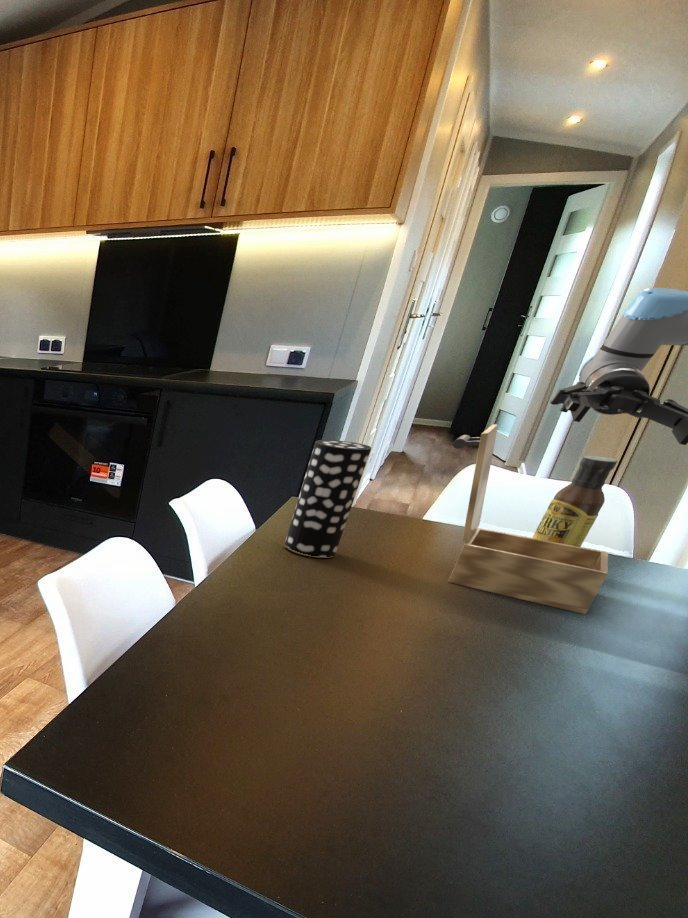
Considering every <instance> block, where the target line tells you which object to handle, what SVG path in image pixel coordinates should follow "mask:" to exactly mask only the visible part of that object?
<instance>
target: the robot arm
mask: <svg viewBox="0 0 688 918" xmlns="http://www.w3.org/2000/svg"><path fill="white" fill-rule="evenodd" d="M662 346H685V347H686V346H687V347H688V291H687V290H682V289H676V288H669V287H668V288H667V287H666V288H665V287H648V288H645V289H642V290H641V291H639V292H638V294H637V295H636V296H635V297H634V299H633V300H632V301H631V302H630V303H629V305H628V306H627V307H626V309H624V310H623V312H622V315H621V316H620V318H619V320H618V321H617V323H616V324H615V326H614V327H613V328H612V330H611V331H610V333H609V335H608V336H607V338H606V339H605V341H604V342H603V344H602V345H601V347H599V349H598V350H597V352H596V353H595V355H593V356H591V357H589V358H588V359H586V361H585V362H584V363H583V365H581V368H580V370H579V374H578V381H577V382H576V383H575V384H573V385H570V386H566V387H563V388H559V389H558V390H557V391H556V393H555V394H554V395H553V397H552V398H551V400H550V401H549V404H550V405H553V406H554V405H556V406H557V405H561V404H562V406H561V407H560V408H559V411H560V412H561V413H568V412H569V411H570V414H571V417H572V420H573V422H575V423H576V422H577V423H580V422H581V421H582V420H583V418H584V417H585V416H586V415H587V413H588V412H589V411H590V409H592V410H593V411H594V412H596V413H598V414H602V415H606V416H614V415H622V414H627V415H629V416H632V417H635V418H637V419H648V420H650V421H653V422H655V423H658V424H660V425H662V426H665V427H668V428H669V429H671V433H672V435H673V436H674V438H675V439H676V442H677V443H678V444H679V445H684V446H687V444H688V408H687V407H685V406H683V405H681V404H679V403H678V402H677V400H674V399H671V398H668V399H665V400H664V401H663V402H661V400H660V399H659V398H656V397H654V396H652V395H650V393H651V386H650V383H649V382H648V380H647V379H646V377H645V375H644V374H643V372H642V371H643V370H644V369H645V367H646V365H647V364H648V363H650V360H652V358H653V357H654V356H655V354H656V353H657V352H658V350H659V349H660V348H661V347H662Z"/></svg>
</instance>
